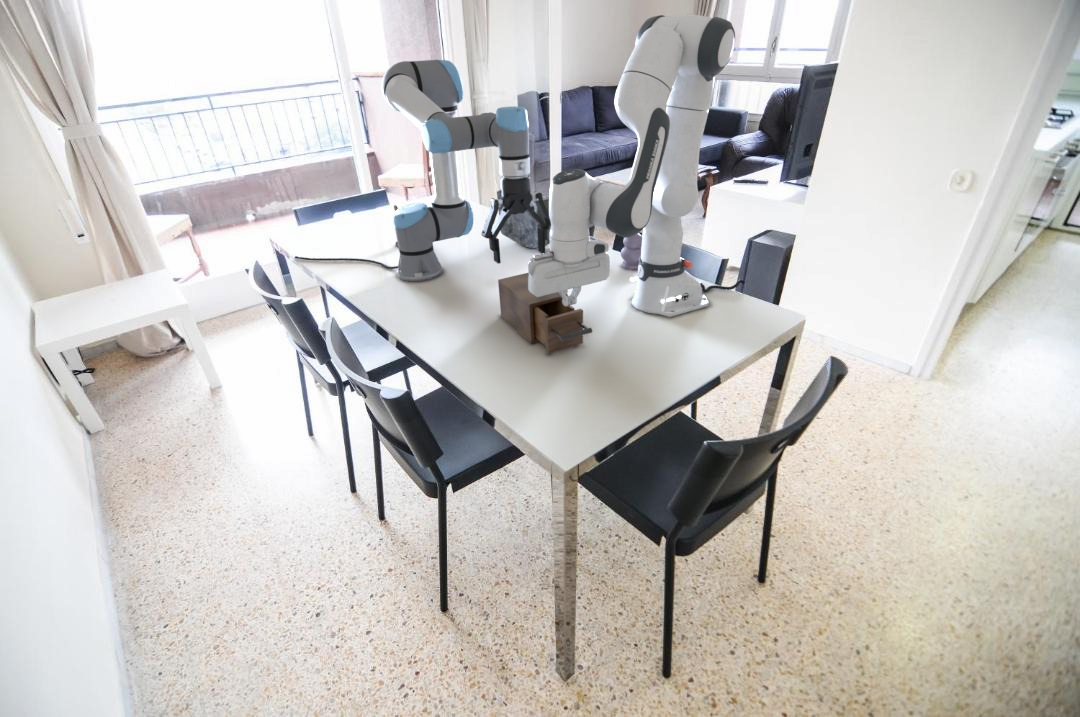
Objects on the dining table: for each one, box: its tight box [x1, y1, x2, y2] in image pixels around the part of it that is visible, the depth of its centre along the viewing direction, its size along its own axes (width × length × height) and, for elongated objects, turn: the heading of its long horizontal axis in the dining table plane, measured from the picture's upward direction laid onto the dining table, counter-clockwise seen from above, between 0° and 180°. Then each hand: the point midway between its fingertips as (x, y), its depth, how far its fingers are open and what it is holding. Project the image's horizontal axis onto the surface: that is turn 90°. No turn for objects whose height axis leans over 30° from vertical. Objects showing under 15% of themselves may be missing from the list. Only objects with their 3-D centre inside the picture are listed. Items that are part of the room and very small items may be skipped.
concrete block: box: [496, 189, 551, 249], centre depth 194 cm, size 27×9×20 cm, turn 36°
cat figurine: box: [620, 232, 642, 271], centre depth 172 cm, size 9×8×12 cm
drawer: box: [533, 299, 593, 355], centre depth 129 cm, size 23×10×10 cm, turn 28°
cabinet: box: [497, 272, 569, 344], centre depth 137 cm, size 19×11×12 cm, turn 29°
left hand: (520, 257), depth 136 cm, fingers open, 13 cm apart
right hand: (569, 304), depth 118 cm, fingers closed
